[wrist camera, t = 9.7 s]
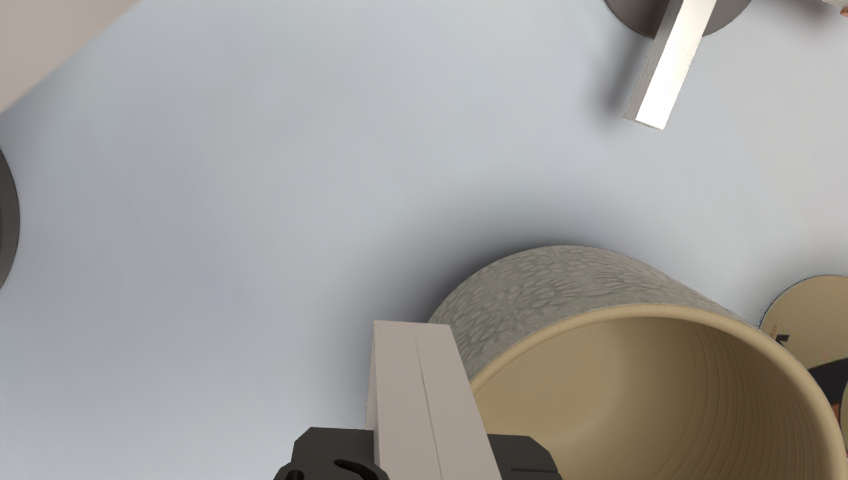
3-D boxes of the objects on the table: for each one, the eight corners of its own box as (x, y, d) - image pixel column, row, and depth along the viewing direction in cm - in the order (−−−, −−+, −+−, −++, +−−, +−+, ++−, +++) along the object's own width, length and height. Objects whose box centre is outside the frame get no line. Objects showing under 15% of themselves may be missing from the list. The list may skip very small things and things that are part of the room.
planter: (621, 168, 42) (764, 221, 27) (729, 426, 45) (907, 599, 30) (341, 304, 42) (326, 431, 27) (470, 548, 46) (520, 777, 31)
